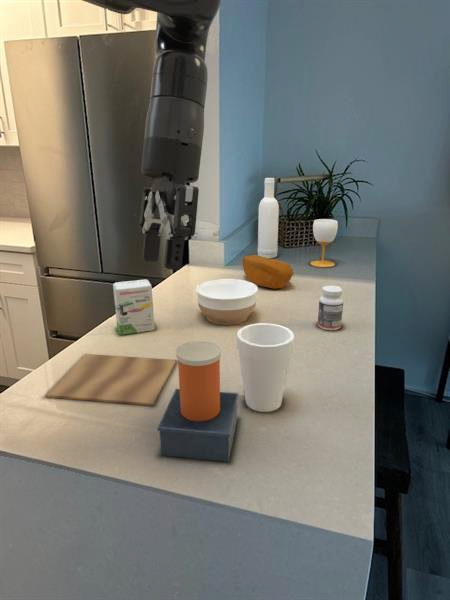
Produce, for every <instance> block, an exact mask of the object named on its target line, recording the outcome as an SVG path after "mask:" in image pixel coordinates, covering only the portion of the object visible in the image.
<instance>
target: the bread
mask: <svg viewBox="0 0 450 600" xmlns="http://www.w3.org/2000/svg"><path fill="white" fill-rule="evenodd" d="M241 259H242V261H241V262H242V269H243V273H244V275H245V278H246V279H247V281H248V282H251V283H253V284H255V285H256V286H259V287H263V288H269V289H273V290H274V289H282V288H284V287H285V286H286V285H287V284H288V283H289V282H290V281H291V280H292V277H293V275H294V269H293V268H292V266H291V265H289V264H288V263H287V262H285V261H282V260H279V259H274V258H266V257H262V256H259V255H258V254H251V255H246V256H243V257H242V258H241Z"/></svg>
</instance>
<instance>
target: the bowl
mask: <svg viewBox="0 0 450 600" xmlns="http://www.w3.org/2000/svg"><path fill="white" fill-rule="evenodd" d="M258 292H259V287H258V285H255V284H253V283H251V282H249V281H248V280H244V279H239V278H216V279H210V280H205V281H203V282H201V283H199V284H198V285H197V286H196V287H195V293H196V294H197V299H196V300H197V306H198V308H199V310H200V311H201V313H202V314H203V315H204V316H205V317H206V320H207V321H209V322H210V323H213V324H217V325H222V326H223V325H224V326H225V325H227V326H229V325H237V324H241V323H243V322H245V321H246V320H247V319H248V317H249V316H250V315H251V314H252V312H253V311H254V309H255V308H256V305H257V294H258Z"/></svg>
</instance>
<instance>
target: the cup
mask: <svg viewBox="0 0 450 600" xmlns="http://www.w3.org/2000/svg"><path fill="white" fill-rule="evenodd" d="M338 229H339V225H338V220H336V219H329V218H319V219H314V220H313V224H312V233H313V237H314V240H315V241H316V242H317V243H318V244H319V245H321V246H322V250H321V260H320V259H319V260H318V259H317V260H313V261H312V260H311V262H310V263H309V264H310V265H311V266H313V267H316V268H333V267H335V266H336V263H335V262H333V261H330V260H325V252H326V246H328V245H330V244H332V242H334V240H335V238H336V236H337V233H338Z"/></svg>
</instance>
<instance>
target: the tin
mask: <svg viewBox="0 0 450 600" xmlns="http://www.w3.org/2000/svg"><path fill="white" fill-rule="evenodd" d="M238 399H239V393H236V392H224V391H223V392H222V391H220V412H219V414H218V415H217V416H216V417H214V418H212V419H210V420H206V421H192V420H189V419H187V418H185V417H184V416H183V415H182V414H181V409H180V389H179V388H175V390H174V392H173V394H172V396H171V398H170V401H169V402H168V405H167V406H166V409H165V410H164V413H163V415H162V417H161V420H160V421H159V424H158V426H157V432H159V442H160V453H161V454H160V455H161V456H164V457H175V458H176V457H177V458H187V459H197V460H207V461H216V462H229V461H230V458H231V452H232V447H233V441H234V437H235V431H236V426H237V421H238Z"/></svg>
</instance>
